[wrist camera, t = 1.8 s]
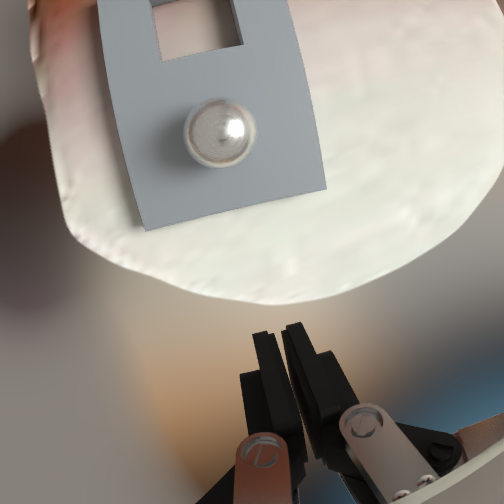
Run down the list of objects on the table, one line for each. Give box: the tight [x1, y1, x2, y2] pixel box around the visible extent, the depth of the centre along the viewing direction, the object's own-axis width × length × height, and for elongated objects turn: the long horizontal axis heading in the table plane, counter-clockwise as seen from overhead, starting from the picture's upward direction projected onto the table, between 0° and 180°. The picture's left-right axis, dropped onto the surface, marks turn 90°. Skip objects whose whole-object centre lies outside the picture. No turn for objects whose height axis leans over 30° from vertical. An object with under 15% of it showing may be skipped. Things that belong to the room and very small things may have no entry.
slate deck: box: [97, 0, 327, 232], centre depth 21 cm, size 22×15×2 cm
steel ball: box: [183, 97, 258, 169], centre depth 19 cm, size 5×5×5 cm
